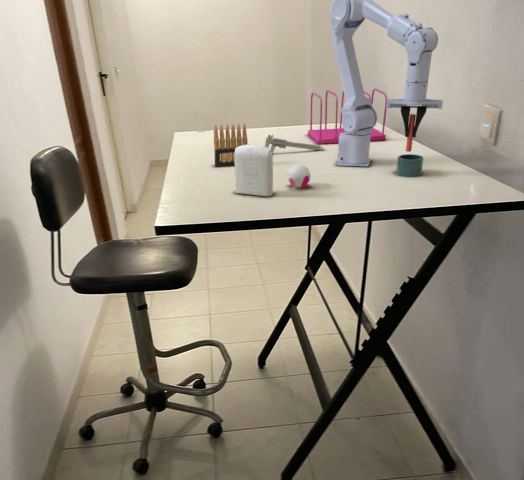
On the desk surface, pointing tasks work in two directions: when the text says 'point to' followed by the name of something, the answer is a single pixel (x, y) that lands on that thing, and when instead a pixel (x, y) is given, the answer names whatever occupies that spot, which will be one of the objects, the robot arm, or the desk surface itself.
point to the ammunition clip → (228, 145)
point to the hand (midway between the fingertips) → (410, 136)
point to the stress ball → (299, 176)
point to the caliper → (288, 144)
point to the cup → (409, 165)
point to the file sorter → (333, 134)
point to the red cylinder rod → (410, 132)
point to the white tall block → (254, 170)
